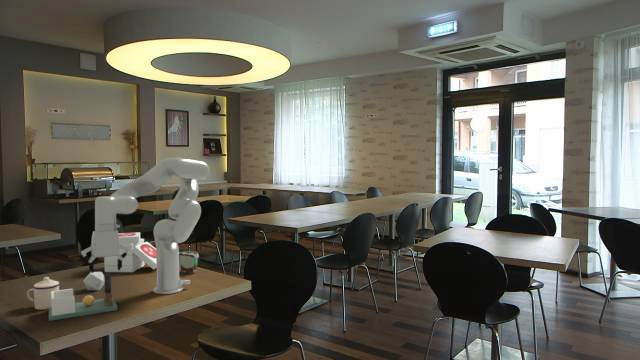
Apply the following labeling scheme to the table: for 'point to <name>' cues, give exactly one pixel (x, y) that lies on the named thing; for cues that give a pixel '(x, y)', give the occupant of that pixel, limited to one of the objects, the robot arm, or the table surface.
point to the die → (94, 281)
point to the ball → (88, 300)
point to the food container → (188, 261)
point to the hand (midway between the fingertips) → (105, 270)
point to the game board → (74, 306)
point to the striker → (107, 289)
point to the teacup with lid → (43, 293)
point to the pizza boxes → (132, 254)
